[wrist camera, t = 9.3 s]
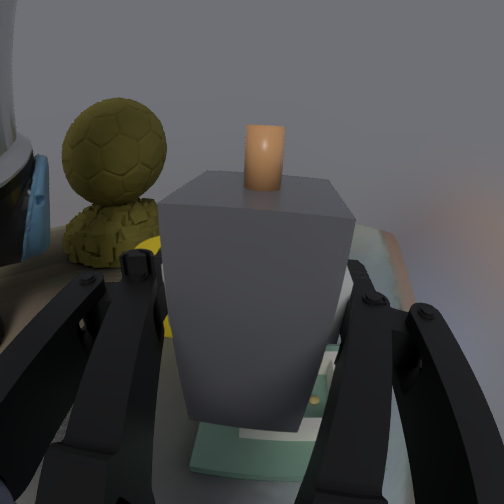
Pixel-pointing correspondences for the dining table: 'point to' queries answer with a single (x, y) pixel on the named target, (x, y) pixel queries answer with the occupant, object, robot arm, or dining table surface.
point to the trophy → (112, 180)
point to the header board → (265, 441)
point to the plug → (253, 286)
